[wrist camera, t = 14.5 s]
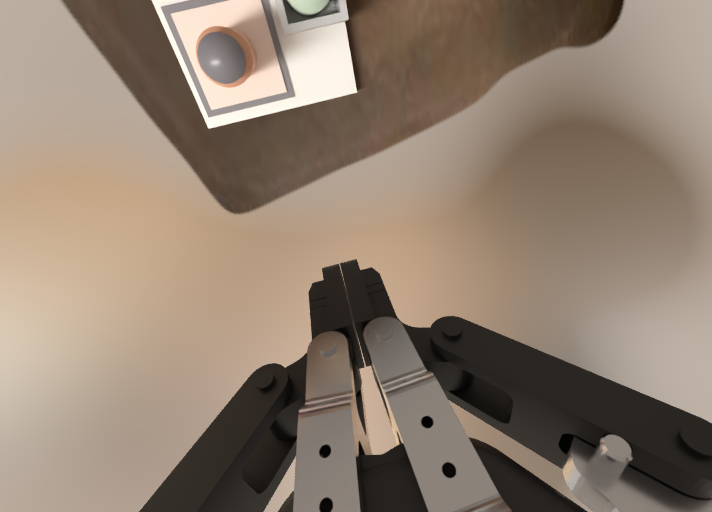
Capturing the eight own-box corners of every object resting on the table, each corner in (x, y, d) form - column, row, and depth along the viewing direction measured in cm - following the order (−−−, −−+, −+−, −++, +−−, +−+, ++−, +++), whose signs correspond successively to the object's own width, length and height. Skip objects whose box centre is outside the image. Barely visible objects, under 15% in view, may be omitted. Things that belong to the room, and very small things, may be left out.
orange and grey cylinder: (249, 27, 28) (241, 21, 22) (261, 77, 31) (256, 86, 24) (204, 31, 28) (181, 28, 21) (219, 82, 30) (203, 93, 24)
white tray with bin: (329, -61, 27) (334, -77, 24) (355, 91, 34) (362, 95, 31) (146, -20, 26) (125, -31, 23) (210, 126, 33) (201, 135, 30)
